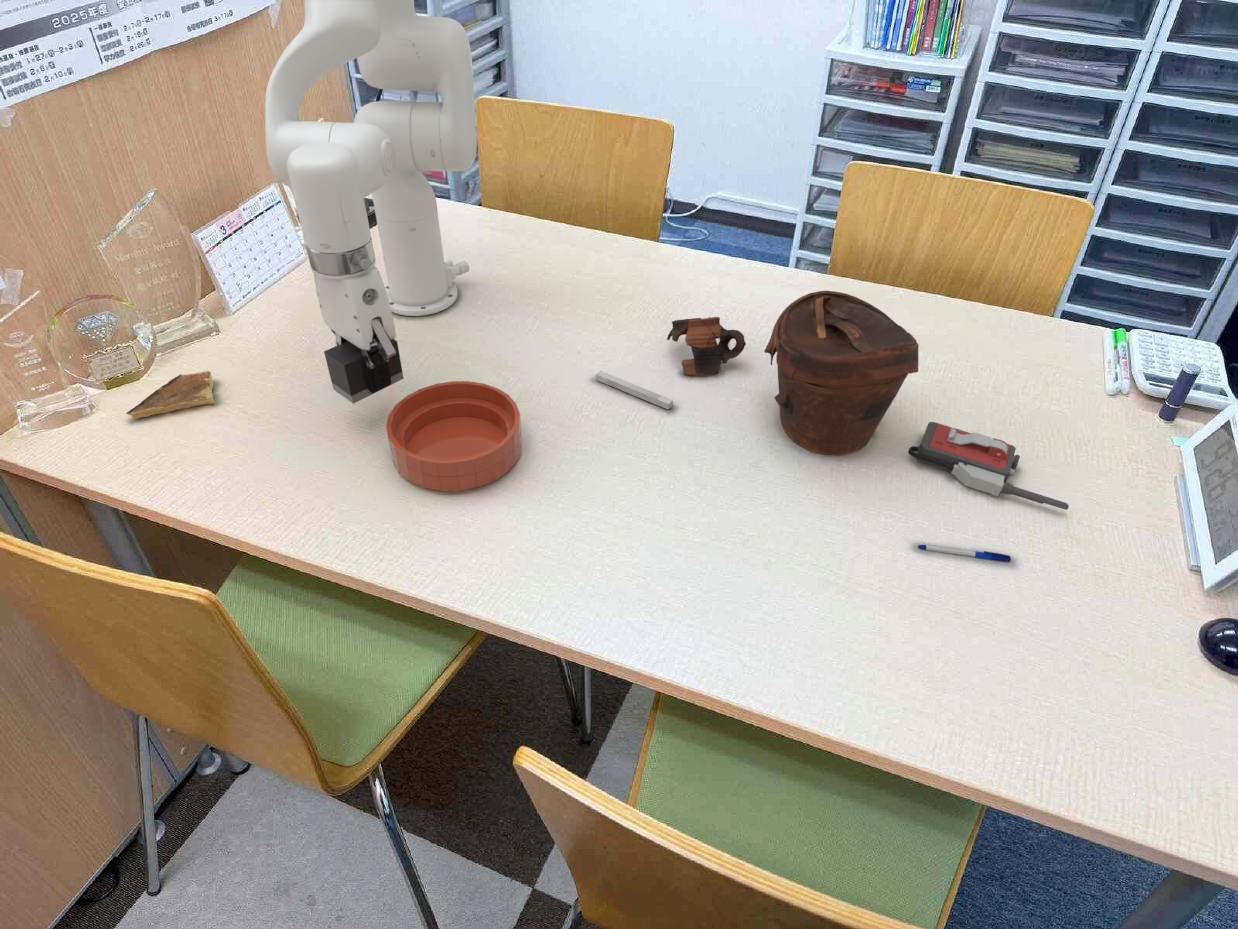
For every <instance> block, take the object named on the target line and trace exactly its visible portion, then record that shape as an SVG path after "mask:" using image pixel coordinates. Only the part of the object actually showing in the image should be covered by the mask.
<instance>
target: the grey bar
mask: <svg viewBox="0 0 1238 929" xmlns="http://www.w3.org/2000/svg"><path fill="white" fill-rule="evenodd" d="M596 381H598V382H600V383H603V384H604V385H608V386H610V387H613V388H615V389H618V390H620V391H622V392H625V393H626V394H630V395H631V396H634V397H637V398H639V399H641V400H643V401H646V402H649V403H651V404H652V405H653V404H654V405H656V406H658V407H661V408H663V409H666V410H668V411H669V410H670V409H672V407H673V406H674V400H673V399H671V398H668V397H666V396H664V395H661V394H659V393H656V392H654V391H652V390H649V389H646V388H644V387H641V386H640V385H637V384H634V383H632V382H629V381H626V380H625V379H622V378H620V377H617V376H614V375H612V374H610V373H607V372H604V371H603V370H600V371H599V372H598V373H596Z"/></svg>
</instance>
